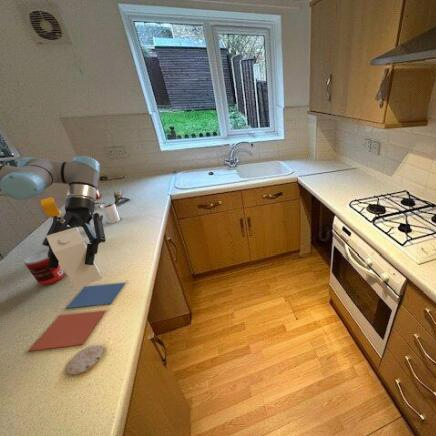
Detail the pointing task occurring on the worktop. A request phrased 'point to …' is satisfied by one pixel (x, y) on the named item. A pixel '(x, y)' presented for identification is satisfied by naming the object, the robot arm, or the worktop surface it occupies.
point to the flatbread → (84, 359)
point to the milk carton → (73, 257)
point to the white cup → (110, 212)
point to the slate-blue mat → (96, 295)
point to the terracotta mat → (68, 331)
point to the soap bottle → (50, 207)
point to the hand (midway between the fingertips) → (71, 266)
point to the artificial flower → (117, 197)
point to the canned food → (43, 268)
